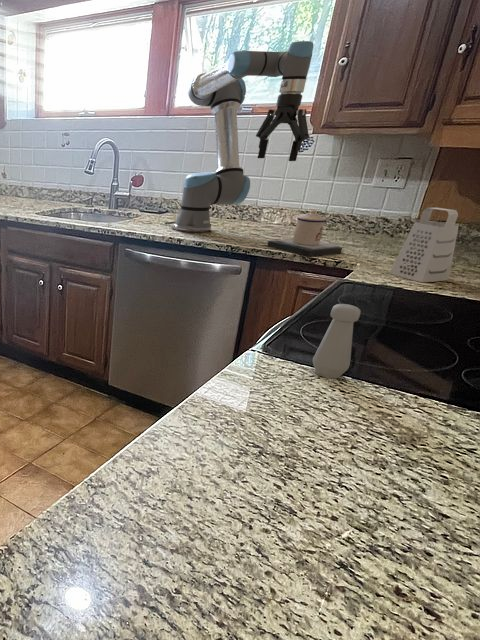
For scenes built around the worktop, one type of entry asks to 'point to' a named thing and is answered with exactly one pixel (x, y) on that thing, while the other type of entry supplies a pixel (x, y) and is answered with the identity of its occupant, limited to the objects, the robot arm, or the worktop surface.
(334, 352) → the salt shaker
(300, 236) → the teacup with lid
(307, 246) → the scale
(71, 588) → the worktop surface
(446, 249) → the grater
